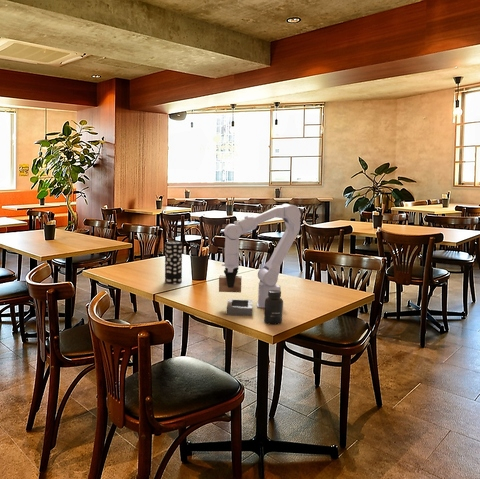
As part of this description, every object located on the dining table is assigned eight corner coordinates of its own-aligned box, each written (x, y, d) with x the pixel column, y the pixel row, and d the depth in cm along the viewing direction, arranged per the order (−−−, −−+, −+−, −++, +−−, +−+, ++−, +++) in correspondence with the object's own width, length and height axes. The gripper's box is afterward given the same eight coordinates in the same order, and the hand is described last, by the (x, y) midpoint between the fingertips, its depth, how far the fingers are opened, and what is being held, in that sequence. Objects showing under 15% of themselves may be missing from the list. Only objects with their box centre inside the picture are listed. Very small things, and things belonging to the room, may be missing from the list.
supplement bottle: (274, 326, 170) (276, 294, 168) (260, 322, 174) (261, 290, 173) (285, 322, 175) (287, 291, 173) (271, 318, 180) (272, 287, 178)
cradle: (252, 306, 194) (252, 299, 194) (251, 315, 182) (252, 308, 181) (228, 305, 194) (228, 298, 194) (226, 314, 182) (226, 307, 182)
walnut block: (241, 290, 194) (241, 276, 193) (240, 292, 190) (241, 278, 189) (219, 289, 194) (219, 275, 194) (218, 291, 191) (219, 277, 190)
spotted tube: (179, 279, 239) (180, 241, 236) (183, 283, 231) (183, 243, 228) (163, 280, 236) (163, 241, 233) (166, 284, 228) (166, 244, 226)
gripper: (223, 250, 197) (222, 281, 199) (220, 256, 183) (219, 289, 185) (239, 250, 197) (239, 282, 199) (238, 256, 183) (237, 290, 185)
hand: (230, 286), depth 192 cm, fingers closed on walnut block, 4 cm apart
